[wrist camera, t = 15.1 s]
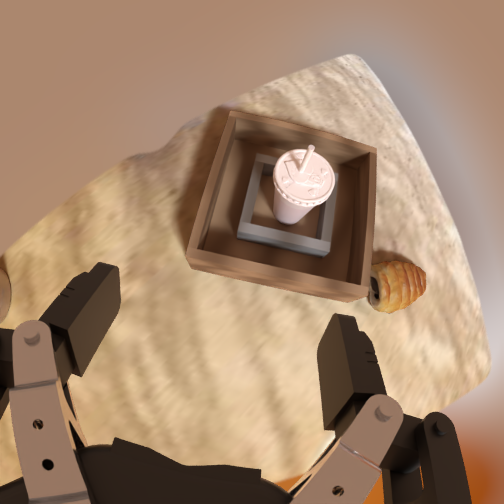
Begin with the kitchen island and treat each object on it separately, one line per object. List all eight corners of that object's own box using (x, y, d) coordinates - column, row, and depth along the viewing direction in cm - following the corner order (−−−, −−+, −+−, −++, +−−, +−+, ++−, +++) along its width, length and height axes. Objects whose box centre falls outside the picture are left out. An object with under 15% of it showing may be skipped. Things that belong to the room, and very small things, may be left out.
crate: (191, 268, 37) (185, 255, 32) (229, 136, 43) (230, 110, 37) (347, 302, 38) (367, 296, 32) (360, 169, 43) (376, 148, 38)
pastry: (414, 258, 41) (429, 251, 37) (424, 303, 39) (439, 299, 35) (360, 267, 39) (373, 260, 36) (370, 317, 38) (384, 315, 34)
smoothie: (277, 180, 40) (300, 112, 27) (319, 205, 40) (360, 145, 27) (253, 218, 39) (268, 157, 25) (297, 244, 38) (335, 195, 25)
